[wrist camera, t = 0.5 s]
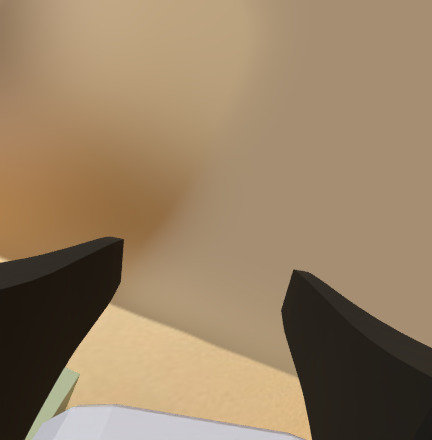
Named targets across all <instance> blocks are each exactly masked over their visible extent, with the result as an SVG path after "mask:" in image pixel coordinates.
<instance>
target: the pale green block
mask: <svg viewBox="0 0 432 440" xmlns="http://www.w3.org/2000/svg"><path fill="white" fill-rule="evenodd" d="M79 375H80V374H78V373H76V372H74V371H72V370H70V369H68V368H66V367H65V368H64V370H63V371H62V373H61V375H60V376H59V378H58V380H57V382H56V383H55V385H54V387H53V389H52V390H51V392H50V394H49V396H48V398H47V399H46V401H45V403H44V405H43V407H42V408H41V410H40V412H39V414H38V416H37V418H36V419H35V421H34V423H33V425H32V427H31V429H30V431H29V433H28V435H27V437H26V438H25V440H32V439H33V437H34V436H35V434H36V433H37V431H38V430H39V428H40V426H41V425H42V423H44V422H46V421H48V420H50V419H52V418H53V417H55V416H57V415H59V414H61V413H62V412H64V411H65V409H66V407H67V405H68V402H69V400H70V397H71V395H72V392H73V390H74V387H75V385H76V383H77V380H78V378H79Z"/></svg>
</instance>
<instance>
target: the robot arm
mask: <svg viewBox="0 0 432 440" xmlns="http://www.w3.org/2000/svg"><path fill="white" fill-rule="evenodd" d="M123 244H124V239H120V238H114V237H104V238H100V239H96V240H93V241H89V242H86V243H83V244H79V245H76V246H73V247H69V248H66V249H62V250H58V251H54V252H51V253H47V254H43V255H39V256H34V257H29V258H25V259H19V260H14V261H8V262H2V263H0V440H25V438H26V437H27V435H28V433H29V431H30V429H31V427H32V425H33V423H34V421H35V419H36V418H37V416H38V414H39V412H40V410H41V408H42V407H43V405H44V403H45V401H46V399H47V398H48V396H49V394H50V392H51V390H52V389H53V387H54V385H55V383H56V382H57V380H58V378H59V376H60V375H61V373H62V371H63V370H64V368H65V366H66V364H67V363H68V361H69V359H70V358H71V356H72V355H73V353H74V352H75V350H76V349H77V347H78V346H79V344H80V343H81V342H82V340H83V339H84V337H85V336H86V335H87V333H88V332H89V331H90V329H91V328H92V326H93V325H94V324H95V322H96V321H97V320H98V318H99V317H100V315H101V314H102V313H103V311H104V310H105V309H106V307H107V306H108V304H109V303H110V301H111V299H112V298H113V296H114V294H115V292H116V290H117V288H118V286H119V284H120V282H121V271H122V258H123ZM281 312H282V319H283V325H284V331H285V335H286V338H287V341H288V345H289V348H290V352H291V355H292V358H293V361H294V364H295V368H296V371H297V374H298V378H299V381H300V384H301V388H302V392H303V396H304V400H305V405H306V410H307V415H308V420H309V425H310V430H311V436H312V440H432V348H431V347H428V346H427V345H424V344H422V343H420V342H418V341H416V340H414V339H412V338H410V337H408V336H407V335H404V334H403V333H401V332H399V331H397V330H396V329H394V328H392V327H390V326H388V325H387V324H385V323H383V322H381V321H380V320H378V319H376V318H375V317H373V316H372V315H370V314H369V313H367V312H366V311H364V310H362V309H361V308H359V307H358V306H356V305H355V304H353V303H352V302H351V301H349V300H348V299H346V298H345V297H344V296H342V295H341V294H339V293H338V292H337V291H335V290H334V289H332V288H331V287H330V286H328V285H327V284H326V283H324V282H323V281H321V280H320V279H319V278H317V277H315V276H314V275H312V274H311V273H309V272H305V271H299V270H293V273H292V276H291V280H290V283H289V286H288V289H287V293H286V296H285V300H284V303H283V306H282V310H281ZM32 440H306V439H303V438H300V437H298V436H295V435H293V434H290V433H286V432H280V431H274V430H268V429H262V428H256V427H250V426H244V425H238V424H232V423H226V422H220V421H214V420H208V419H202V418H196V417H190V416H184V415H178V414H172V413H166V412H160V411H154V410H148V409H142V408H136V407H130V406H124V405H118V404H103V405H79V406H75V407H71V408H70V409H68V410H66V411H64V412H62V413H61V414H59V415H57V416H55V417H53V418H52V419H50V420H48V421H46V422H44V423H42V425H41V426H40V428H39V430H38V431H37V433H36V434H35V436H34V437H33V439H32Z"/></svg>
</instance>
